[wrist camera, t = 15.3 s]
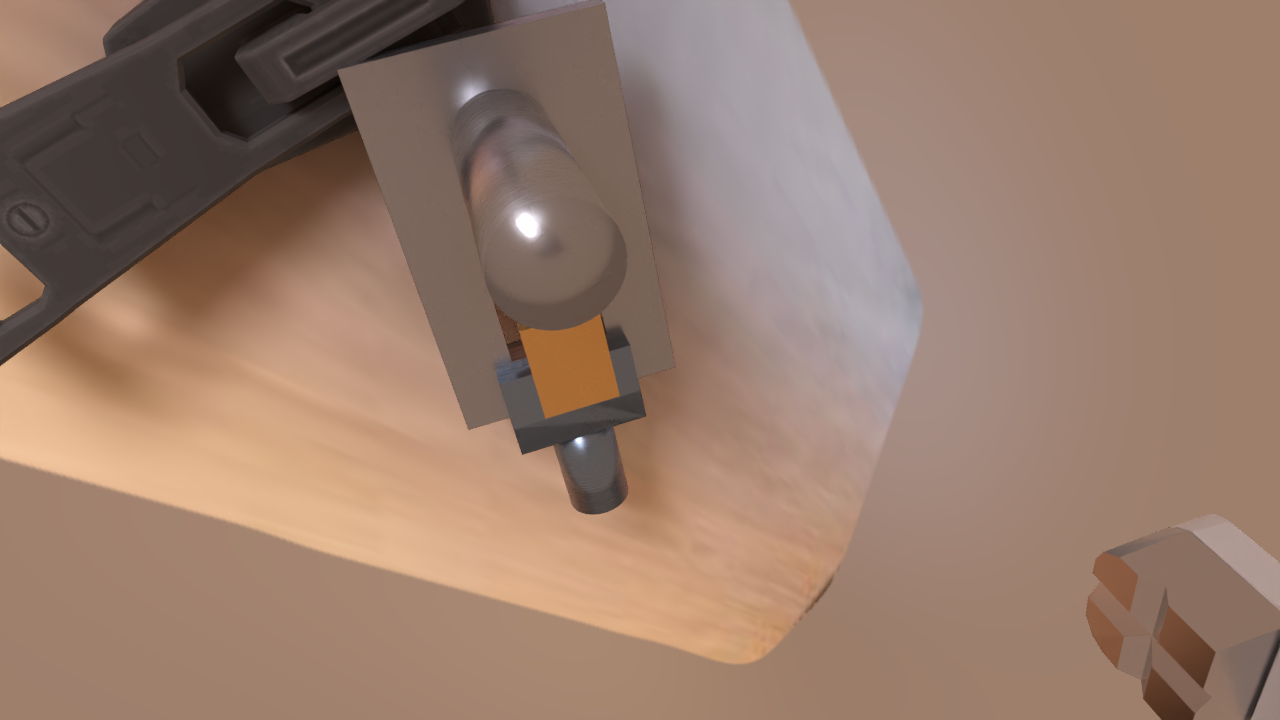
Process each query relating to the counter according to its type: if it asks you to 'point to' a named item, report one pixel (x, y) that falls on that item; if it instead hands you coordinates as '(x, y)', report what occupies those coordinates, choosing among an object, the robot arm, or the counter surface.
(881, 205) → the counter surface
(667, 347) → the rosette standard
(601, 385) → the orange wooden block
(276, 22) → the zipper pull
